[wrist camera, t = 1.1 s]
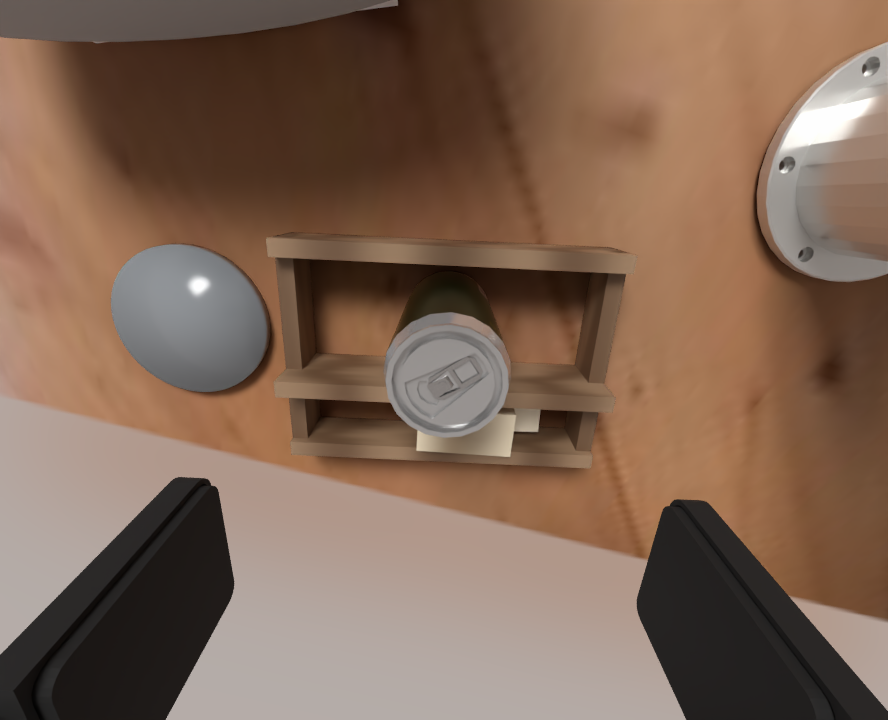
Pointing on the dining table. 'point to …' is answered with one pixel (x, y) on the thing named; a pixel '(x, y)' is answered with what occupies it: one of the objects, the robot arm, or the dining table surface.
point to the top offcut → (476, 438)
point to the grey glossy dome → (190, 317)
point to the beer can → (447, 358)
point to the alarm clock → (162, 17)
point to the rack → (364, 374)
